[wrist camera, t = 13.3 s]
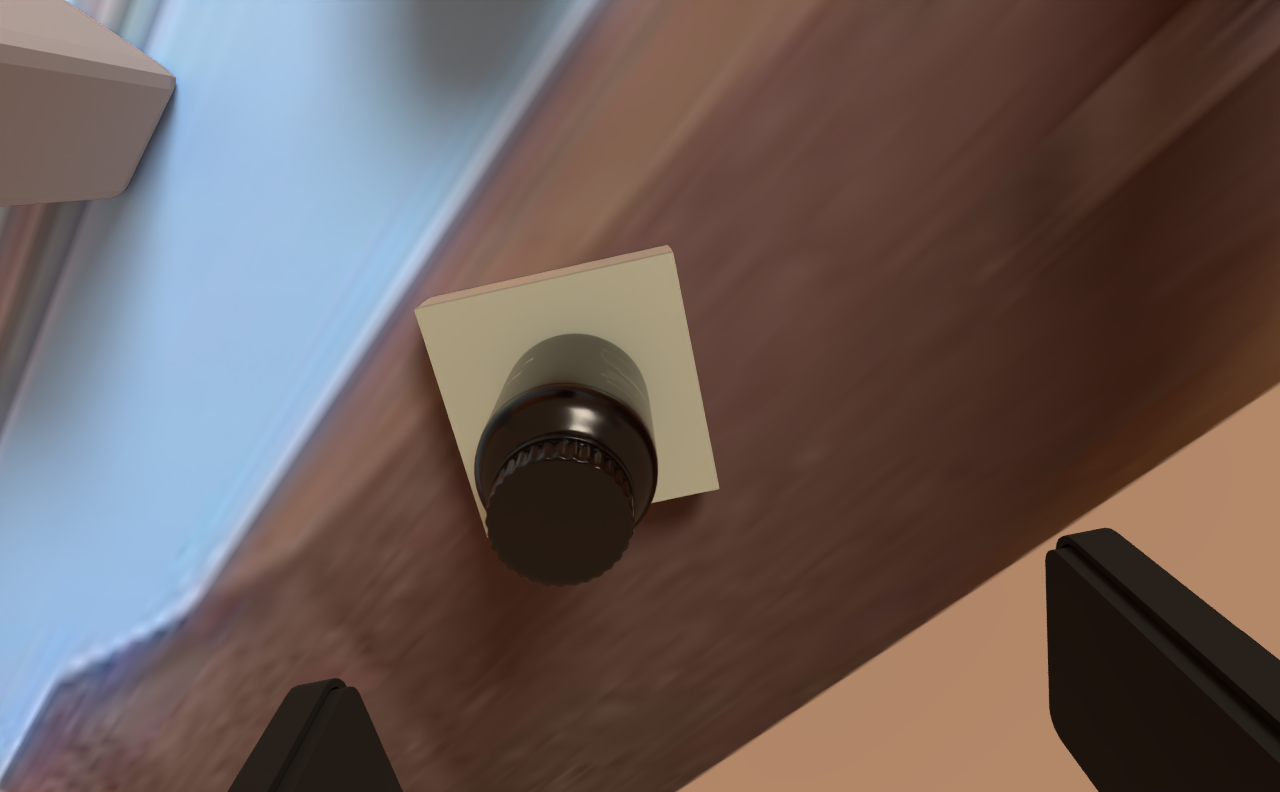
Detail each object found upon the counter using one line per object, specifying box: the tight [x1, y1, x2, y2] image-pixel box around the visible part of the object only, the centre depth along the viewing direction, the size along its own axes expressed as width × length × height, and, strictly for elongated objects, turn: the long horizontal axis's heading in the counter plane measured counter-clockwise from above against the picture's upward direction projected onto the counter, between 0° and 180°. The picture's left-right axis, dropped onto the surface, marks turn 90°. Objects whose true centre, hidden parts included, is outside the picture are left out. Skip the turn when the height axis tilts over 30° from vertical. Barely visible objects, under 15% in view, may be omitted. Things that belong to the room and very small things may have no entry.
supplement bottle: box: [474, 333, 658, 587], centre depth 28 cm, size 7×7×12 cm
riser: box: [414, 245, 719, 538], centre depth 35 cm, size 12×12×3 cm
